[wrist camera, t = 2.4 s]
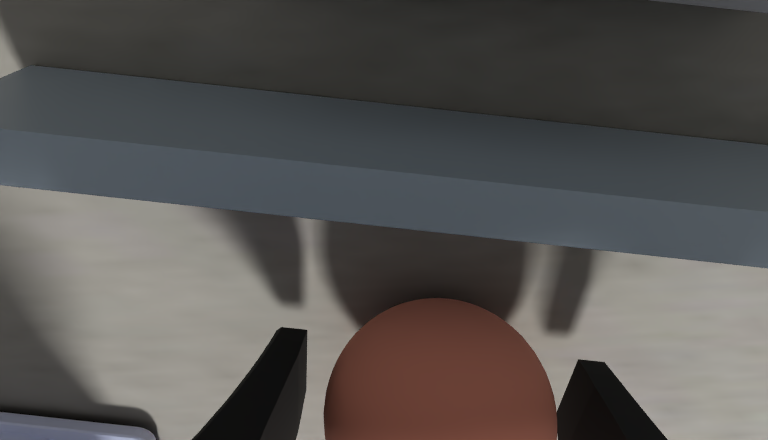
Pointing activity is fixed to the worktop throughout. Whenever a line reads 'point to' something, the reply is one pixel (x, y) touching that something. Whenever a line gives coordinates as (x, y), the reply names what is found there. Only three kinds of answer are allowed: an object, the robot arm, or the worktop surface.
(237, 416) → the robot arm
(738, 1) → the tray
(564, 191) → the low wall
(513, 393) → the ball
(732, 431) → the worktop surface
